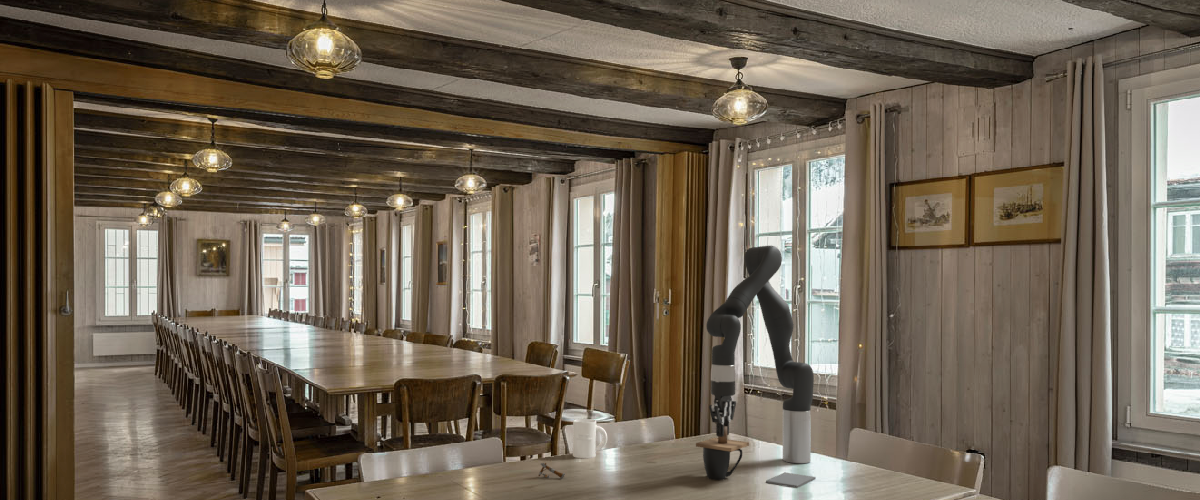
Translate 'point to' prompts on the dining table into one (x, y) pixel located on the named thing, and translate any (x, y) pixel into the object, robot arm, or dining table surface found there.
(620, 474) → the dining table surface
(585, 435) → the mug
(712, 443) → the lid
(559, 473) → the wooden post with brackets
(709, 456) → the mug
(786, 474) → the mat
